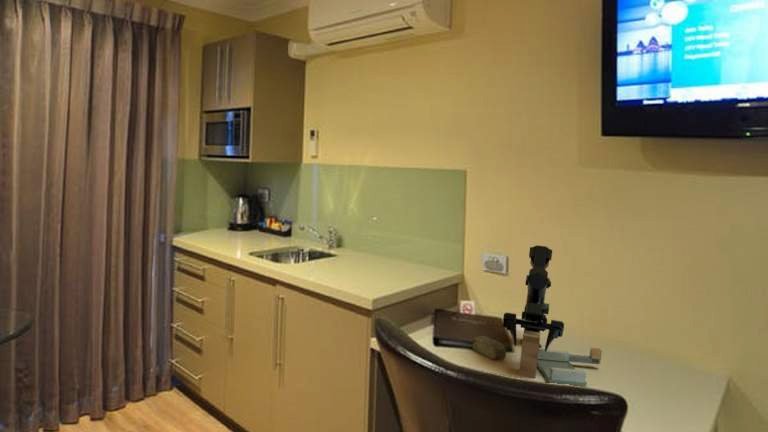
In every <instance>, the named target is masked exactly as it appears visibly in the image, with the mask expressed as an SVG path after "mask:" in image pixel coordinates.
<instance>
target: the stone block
mask: <svg viewBox="0 0 768 432" xmlns="http://www.w3.org/2000/svg"><path fill="white" fill-rule="evenodd" d="M472 349H473V350H474V351H475V352H477V353H479V354H481V355H483V356H484V357H487V358H489V359H490V360H495V361H498V360H503V359H505V358H506V356H507V347H506V345H505V344H503V343H501V342H499V341H497V340H494V339H492V338H491V337H488V336H486V335H482V336H475V337H474V338H473V343H472Z"/></svg>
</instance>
